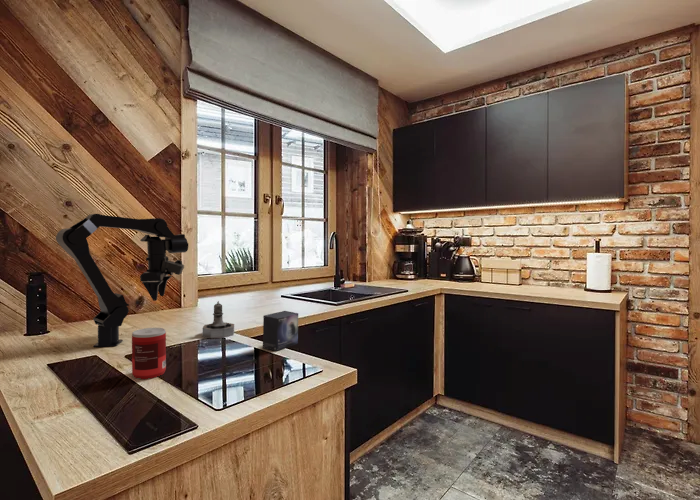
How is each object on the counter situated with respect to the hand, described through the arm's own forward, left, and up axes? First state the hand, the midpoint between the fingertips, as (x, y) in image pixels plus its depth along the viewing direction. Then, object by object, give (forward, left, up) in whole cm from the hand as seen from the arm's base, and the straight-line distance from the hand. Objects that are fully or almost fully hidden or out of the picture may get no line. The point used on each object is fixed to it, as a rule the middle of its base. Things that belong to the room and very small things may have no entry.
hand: (158, 298), depth 135 cm
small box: (-22, -41, -13) cm, 49 cm away
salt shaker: (-3, -20, -13) cm, 24 cm away
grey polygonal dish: (-3, -20, -13) cm, 24 cm away
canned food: (-41, -7, -13) cm, 44 cm away
